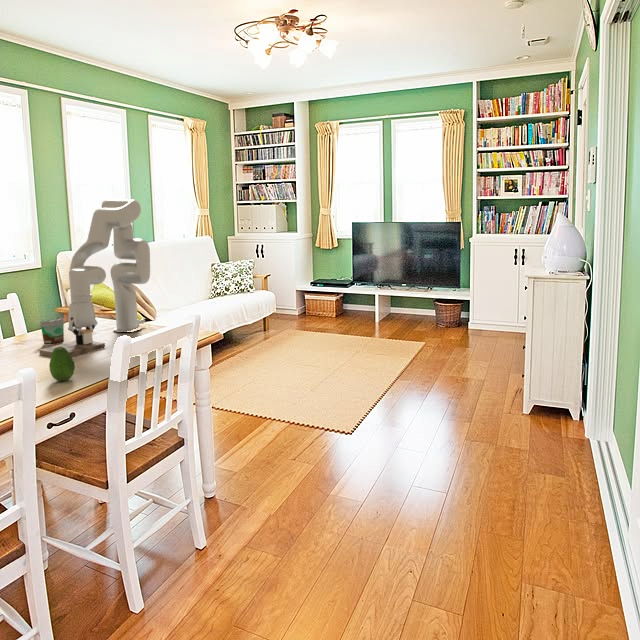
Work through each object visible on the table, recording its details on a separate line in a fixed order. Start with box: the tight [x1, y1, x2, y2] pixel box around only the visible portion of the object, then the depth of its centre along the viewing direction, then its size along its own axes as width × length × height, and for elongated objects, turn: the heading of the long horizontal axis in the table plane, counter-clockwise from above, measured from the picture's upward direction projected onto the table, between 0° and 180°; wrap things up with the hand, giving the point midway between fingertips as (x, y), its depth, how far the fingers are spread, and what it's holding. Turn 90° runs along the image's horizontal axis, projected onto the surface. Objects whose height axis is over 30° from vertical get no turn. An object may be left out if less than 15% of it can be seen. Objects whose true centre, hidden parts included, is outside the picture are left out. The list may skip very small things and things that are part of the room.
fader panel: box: [38, 340, 106, 358], centre depth 235 cm, size 20×14×2 cm
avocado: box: [49, 347, 76, 382], centre depth 196 cm, size 8×8×12 cm
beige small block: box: [81, 328, 94, 344], centre depth 239 cm, size 4×5×5 cm
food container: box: [39, 316, 66, 345], centre depth 248 cm, size 12×6×10 cm, turn 168°
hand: (84, 342), depth 239 cm, fingers closed on beige small block, 4 cm apart
